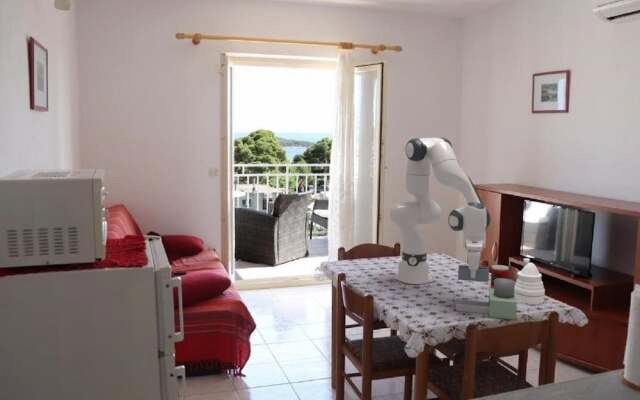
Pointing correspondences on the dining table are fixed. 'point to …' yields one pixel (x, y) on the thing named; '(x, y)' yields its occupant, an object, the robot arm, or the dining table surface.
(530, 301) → the honey pot
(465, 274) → the chute
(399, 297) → the dining table surface
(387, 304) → the dining table surface
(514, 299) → the green base with cylinder
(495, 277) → the canned food
